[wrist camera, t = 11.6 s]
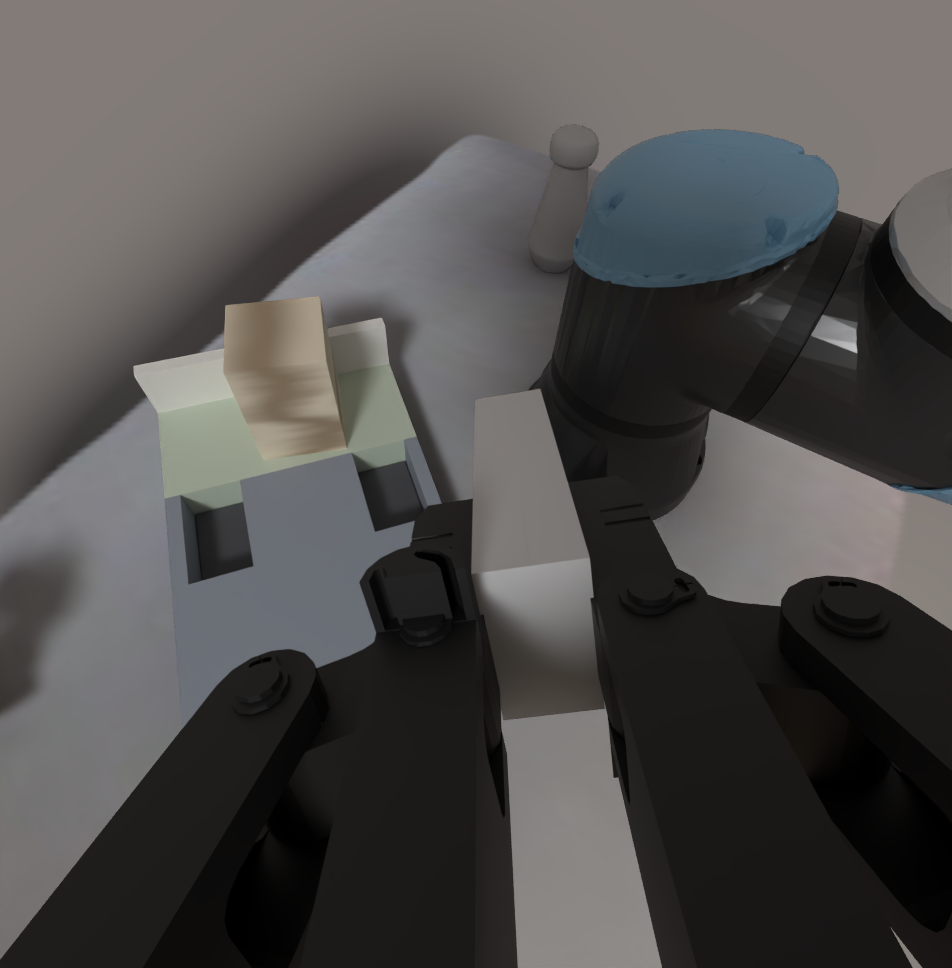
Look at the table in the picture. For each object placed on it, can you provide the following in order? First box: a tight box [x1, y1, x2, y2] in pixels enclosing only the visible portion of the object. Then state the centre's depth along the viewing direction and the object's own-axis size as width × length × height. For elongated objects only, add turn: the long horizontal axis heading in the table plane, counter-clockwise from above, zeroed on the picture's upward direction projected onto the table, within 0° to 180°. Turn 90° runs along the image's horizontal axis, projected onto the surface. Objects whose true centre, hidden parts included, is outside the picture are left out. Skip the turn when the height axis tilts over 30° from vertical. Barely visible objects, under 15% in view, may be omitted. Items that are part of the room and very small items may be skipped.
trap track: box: [134, 318, 442, 729], centre depth 39 cm, size 25×18×7 cm
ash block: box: [223, 296, 347, 460], centre depth 39 cm, size 6×6×9 cm
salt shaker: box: [529, 125, 599, 273], centre depth 55 cm, size 6×6×13 cm
